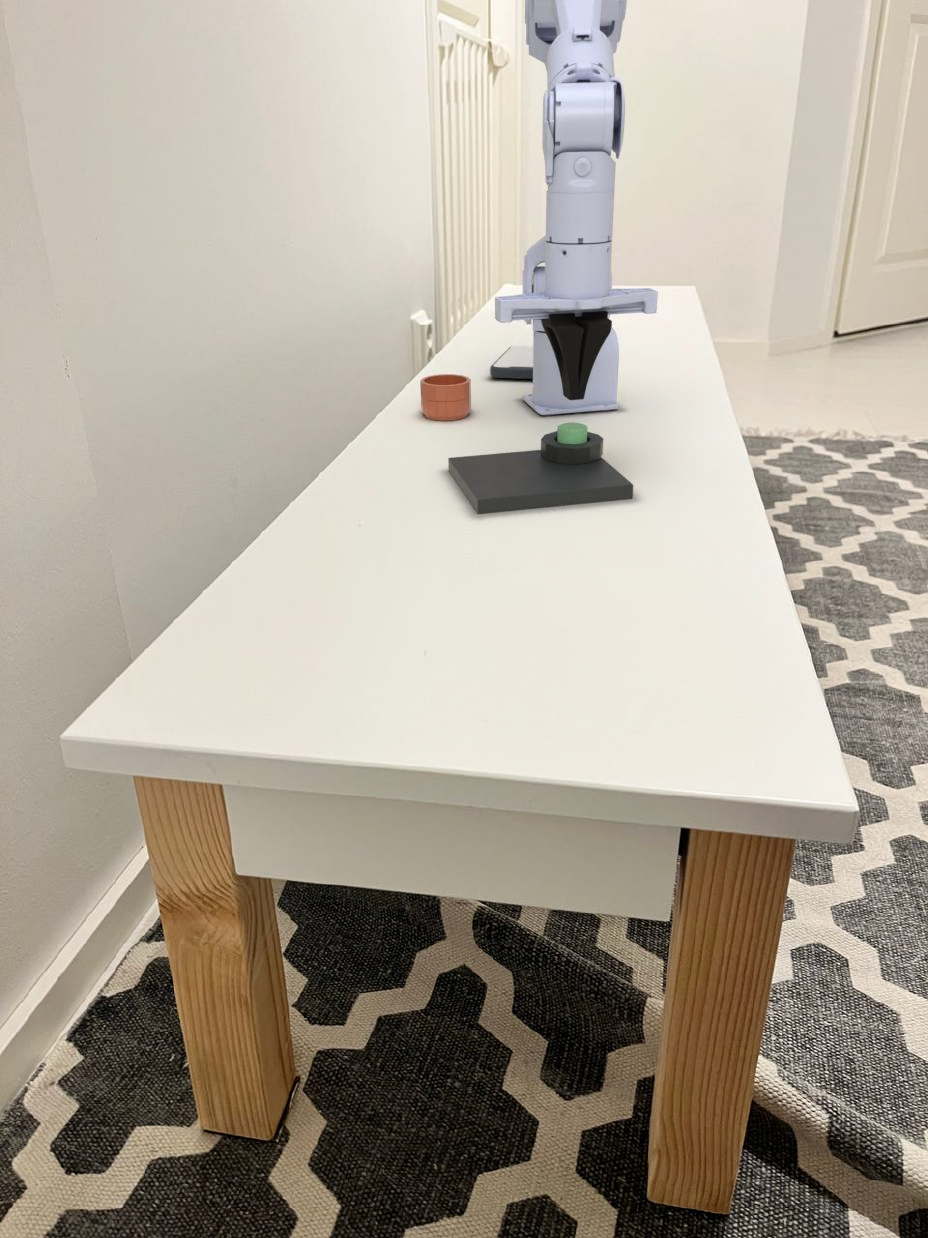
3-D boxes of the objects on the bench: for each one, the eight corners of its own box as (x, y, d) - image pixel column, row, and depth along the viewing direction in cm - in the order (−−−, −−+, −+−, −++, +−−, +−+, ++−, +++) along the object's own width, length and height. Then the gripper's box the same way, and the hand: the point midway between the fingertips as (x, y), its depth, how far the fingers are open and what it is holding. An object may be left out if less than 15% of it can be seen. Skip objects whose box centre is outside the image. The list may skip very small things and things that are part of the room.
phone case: (509, 356, 140) (487, 379, 126) (509, 344, 139) (487, 367, 125) (571, 358, 138) (555, 382, 124) (571, 346, 137) (556, 369, 123)
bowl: (464, 406, 114) (464, 372, 112) (475, 419, 109) (475, 383, 107) (417, 410, 113) (416, 376, 111) (427, 423, 108) (425, 387, 106)
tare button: (581, 437, 93) (581, 421, 93) (591, 445, 91) (591, 429, 90) (553, 439, 93) (553, 423, 92) (562, 447, 90) (562, 431, 90)
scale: (589, 457, 96) (590, 428, 95) (636, 499, 85) (638, 466, 84) (447, 470, 93) (446, 440, 92) (477, 515, 83) (477, 481, 81)
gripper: (509, 249, 79) (509, 414, 85) (676, 241, 82) (664, 401, 88) (488, 240, 85) (489, 394, 91) (644, 233, 88) (634, 383, 94)
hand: (573, 397), depth 90 cm, fingers closed
